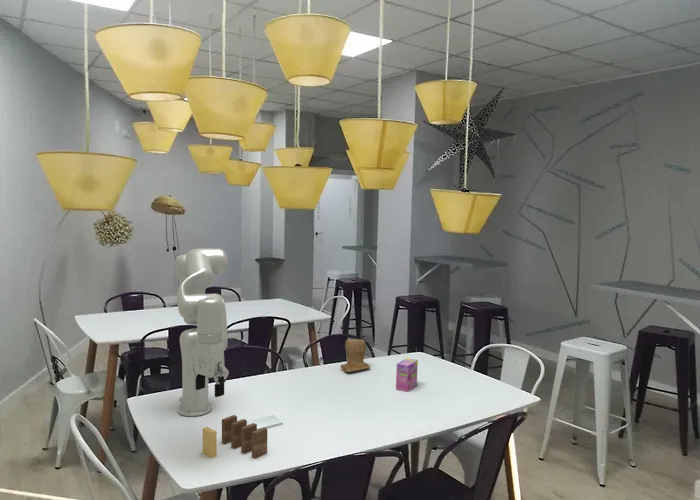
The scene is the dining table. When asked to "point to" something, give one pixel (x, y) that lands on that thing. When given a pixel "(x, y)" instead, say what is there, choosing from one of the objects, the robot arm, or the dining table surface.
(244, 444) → the walnut domino
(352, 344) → the brown statuette
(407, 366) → the box
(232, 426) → the walnut domino
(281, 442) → the dining table surface
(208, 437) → the ochre domino
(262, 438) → the walnut domino
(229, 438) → the walnut domino
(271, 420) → the hard drive
